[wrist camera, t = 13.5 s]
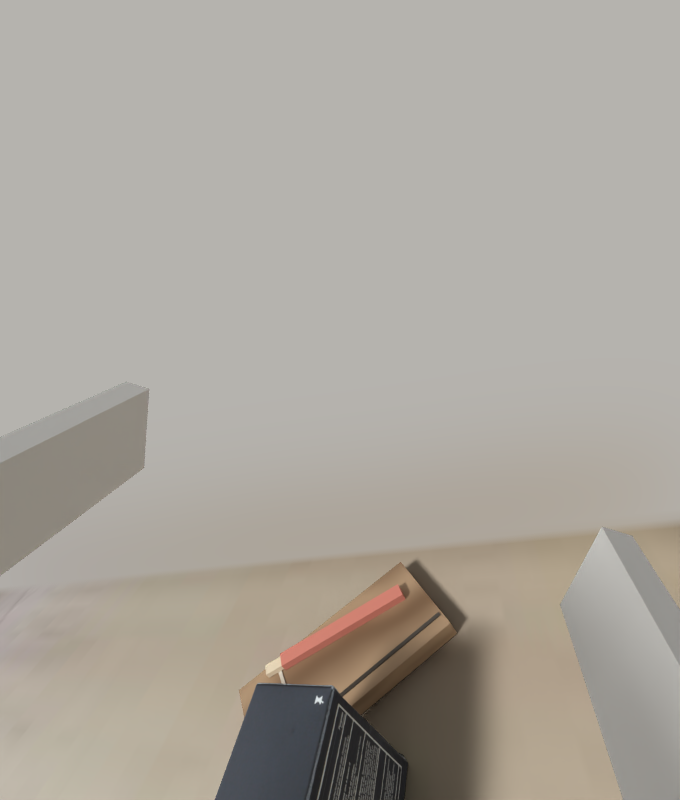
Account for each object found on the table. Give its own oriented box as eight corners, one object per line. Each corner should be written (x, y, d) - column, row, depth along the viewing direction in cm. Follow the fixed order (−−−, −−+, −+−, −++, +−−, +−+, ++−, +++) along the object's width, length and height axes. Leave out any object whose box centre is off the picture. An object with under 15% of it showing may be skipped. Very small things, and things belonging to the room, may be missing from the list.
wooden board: (457, 633, 36) (449, 622, 35) (268, 793, 33) (256, 784, 32) (407, 571, 43) (400, 561, 42) (248, 698, 40) (238, 689, 39)
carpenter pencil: (401, 588, 40) (397, 584, 40) (405, 599, 39) (402, 594, 38) (268, 667, 40) (264, 662, 39) (269, 679, 39) (265, 675, 38)
